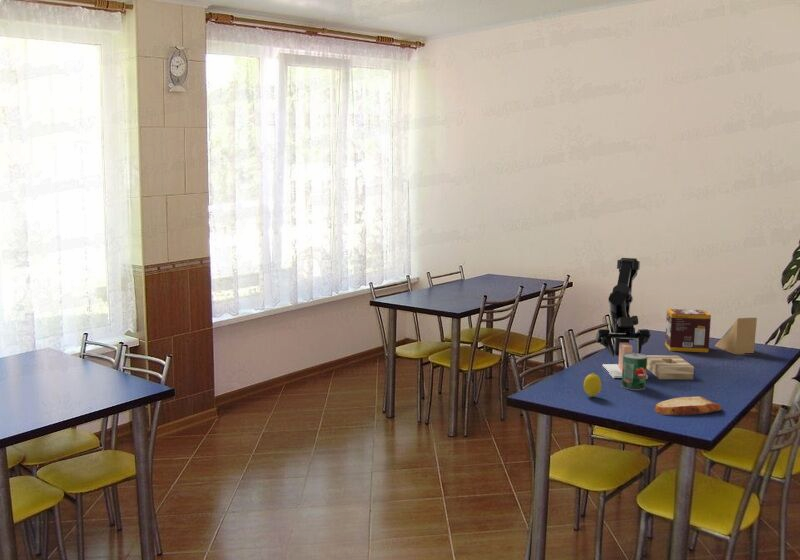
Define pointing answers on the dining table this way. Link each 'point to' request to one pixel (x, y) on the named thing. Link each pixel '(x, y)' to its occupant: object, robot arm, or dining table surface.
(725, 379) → the dining table surface
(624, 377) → the canned tomato
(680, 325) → the supplement box
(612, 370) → the mat
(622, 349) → the pink rectangular block
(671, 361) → the slot box
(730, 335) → the sandwich container
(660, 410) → the slice of bread
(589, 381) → the lemon
